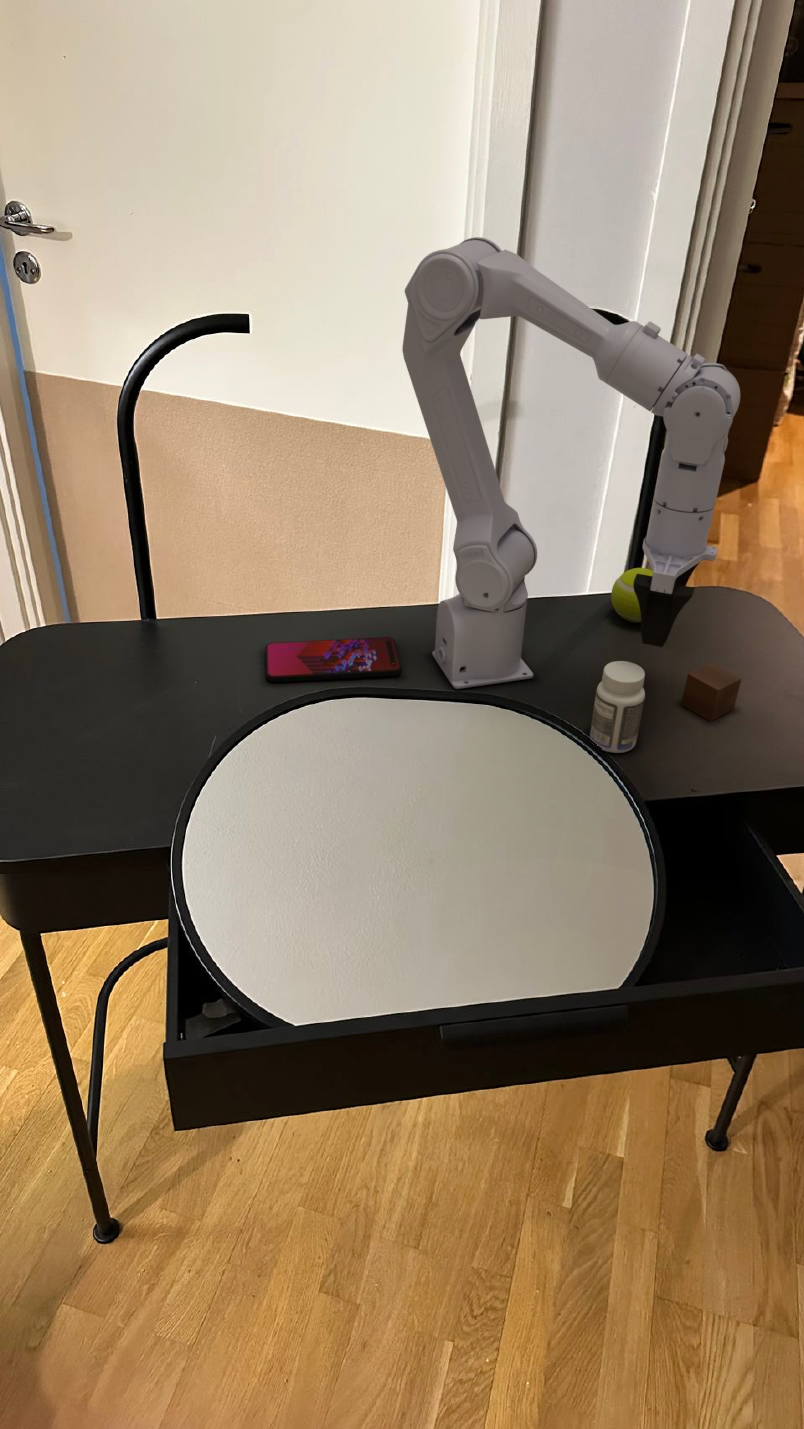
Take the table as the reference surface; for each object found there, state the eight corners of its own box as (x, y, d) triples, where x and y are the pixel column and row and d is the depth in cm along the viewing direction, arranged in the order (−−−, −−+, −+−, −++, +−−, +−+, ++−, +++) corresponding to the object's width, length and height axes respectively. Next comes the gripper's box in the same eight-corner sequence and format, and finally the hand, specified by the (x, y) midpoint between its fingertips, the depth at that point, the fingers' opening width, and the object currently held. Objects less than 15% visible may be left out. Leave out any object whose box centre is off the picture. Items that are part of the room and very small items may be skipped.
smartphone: (265, 642, 113) (394, 636, 115) (265, 648, 114) (394, 642, 116) (266, 677, 107) (402, 670, 109) (266, 684, 107) (402, 677, 109)
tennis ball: (658, 636, 119) (668, 586, 115) (603, 626, 121) (611, 577, 117) (664, 612, 124) (674, 564, 121) (611, 603, 126) (619, 555, 122)
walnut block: (710, 721, 104) (718, 690, 102) (680, 704, 107) (687, 673, 104) (733, 709, 106) (742, 678, 104) (704, 693, 109) (711, 662, 106)
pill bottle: (633, 729, 102) (646, 660, 98) (637, 756, 98) (652, 685, 94) (587, 726, 103) (598, 656, 98) (590, 752, 99) (602, 681, 94)
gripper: (719, 537, 87) (689, 668, 94) (734, 482, 98) (706, 604, 106) (639, 523, 89) (616, 653, 96) (663, 472, 100) (640, 591, 107)
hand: (658, 626), depth 101 cm, fingers open, 7 cm apart
